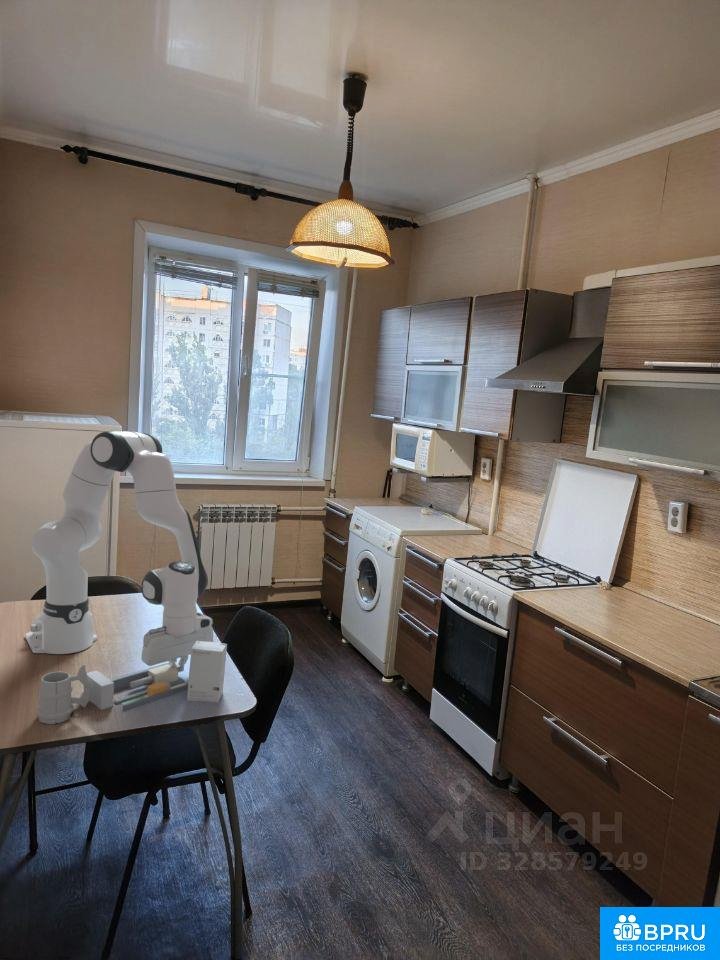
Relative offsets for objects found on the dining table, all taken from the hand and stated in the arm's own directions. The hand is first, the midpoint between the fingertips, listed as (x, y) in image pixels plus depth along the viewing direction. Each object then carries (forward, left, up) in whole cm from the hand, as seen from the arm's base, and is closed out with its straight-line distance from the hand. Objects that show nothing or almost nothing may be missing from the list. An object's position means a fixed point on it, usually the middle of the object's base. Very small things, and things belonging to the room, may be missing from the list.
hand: (177, 671), depth 171 cm
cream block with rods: (+2, -7, -1) cm, 8 cm away
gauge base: (0, -10, -3) cm, 11 cm away
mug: (-1, -30, -3) cm, 30 cm away
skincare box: (+14, 0, -3) cm, 14 cm away
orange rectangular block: (+6, -9, -1) cm, 11 cm away
